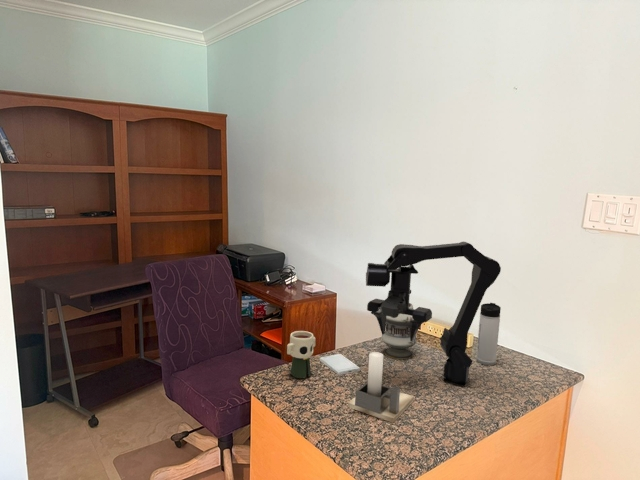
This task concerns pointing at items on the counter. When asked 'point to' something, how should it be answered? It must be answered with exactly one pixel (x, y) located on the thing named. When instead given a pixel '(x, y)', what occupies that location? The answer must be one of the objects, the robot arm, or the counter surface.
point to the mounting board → (386, 415)
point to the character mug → (301, 352)
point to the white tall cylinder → (375, 374)
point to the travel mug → (488, 334)
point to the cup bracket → (378, 399)
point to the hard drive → (339, 364)
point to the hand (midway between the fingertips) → (397, 337)
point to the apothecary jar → (398, 336)
